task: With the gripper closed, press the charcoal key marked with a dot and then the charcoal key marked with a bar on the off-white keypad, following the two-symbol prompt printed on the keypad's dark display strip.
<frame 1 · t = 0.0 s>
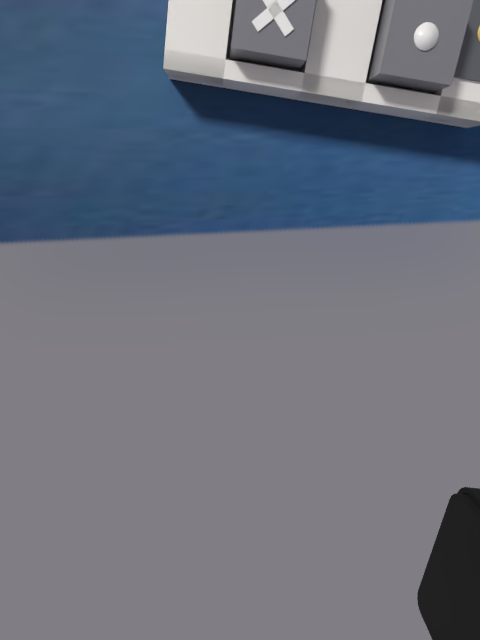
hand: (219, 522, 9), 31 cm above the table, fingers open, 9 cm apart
cross key: (272, 17, 30), point 4 cm above the table, slide at 0.0 cm
dot key: (416, 43, 31), point 4 cm above the table, slide at 0.0 cm
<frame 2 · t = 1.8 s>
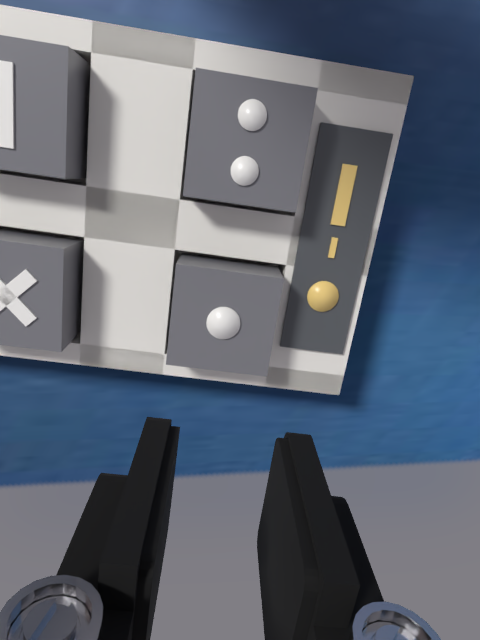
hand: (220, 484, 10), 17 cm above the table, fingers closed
pair key: (246, 145, 20), point 4 cm above the table, slide at 0.0 cm
cross key: (20, 287, 22), point 4 cm above the table, slide at 0.0 cm
bar key: (19, 110, 19), point 4 cm above the table, slide at 0.0 cm
keypad: (144, 212, 25), on the table
dot key: (223, 313, 23), point 4 cm above the table, slide at 0.0 cm
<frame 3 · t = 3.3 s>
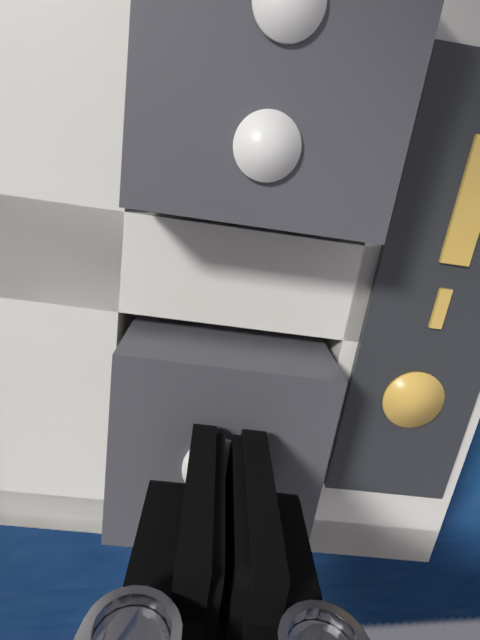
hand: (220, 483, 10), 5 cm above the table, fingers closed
pair key: (269, 91, 9), point 4 cm above the table, slide at 0.0 cm
keypad: (73, 231, 14), on the table
dot key: (218, 432, 12), point 4 cm above the table, slide at 0.2 cm, touching gripper
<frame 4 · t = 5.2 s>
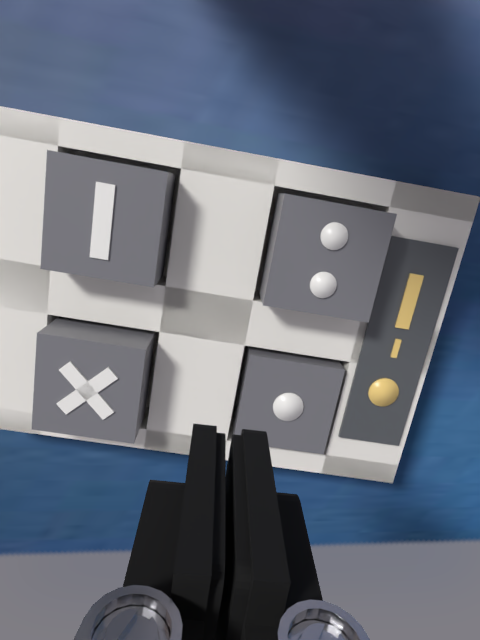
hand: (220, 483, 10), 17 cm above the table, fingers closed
pair key: (321, 256, 21), point 4 cm above the table, slide at 0.0 cm
cross key: (96, 378, 23), point 4 cm above the table, slide at 0.0 cm
bar key: (111, 219, 21), point 4 cm above the table, slide at 0.0 cm
keypad: (208, 300, 26), on the table
dot key: (284, 394, 25), point 3 cm above the table, slide at 1.5 cm, touching keypad
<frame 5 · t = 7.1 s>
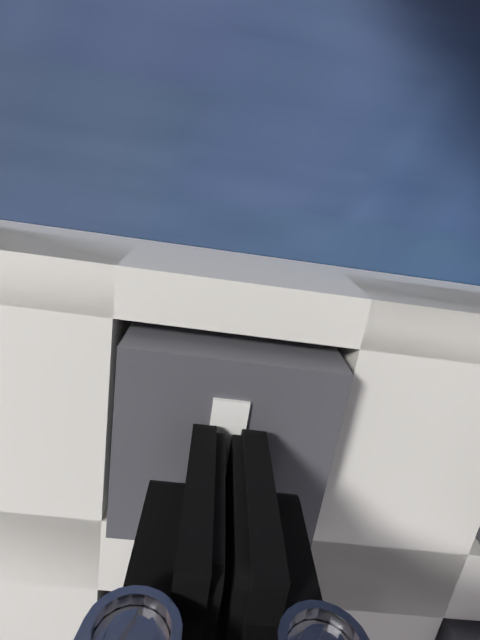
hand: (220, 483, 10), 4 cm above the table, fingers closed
bar key: (222, 426, 12), point 3 cm above the table, slide at 1.2 cm, touching gripper
keypad: (348, 494, 16), on the table
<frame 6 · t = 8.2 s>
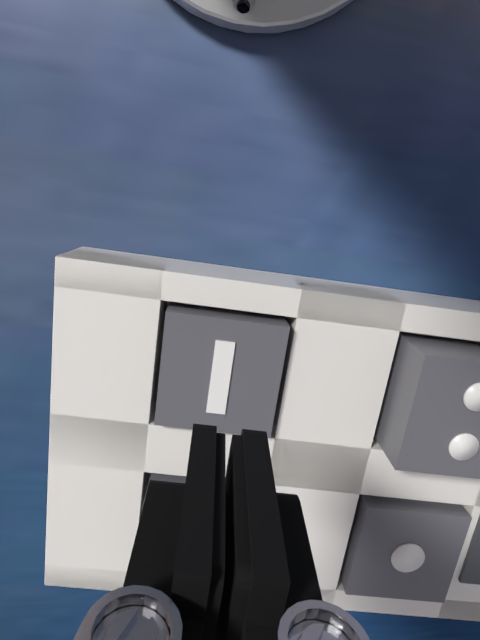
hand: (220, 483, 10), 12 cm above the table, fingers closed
pair key: (452, 405, 19), point 4 cm above the table, slide at 0.0 cm
cross key: (197, 538, 20), point 4 cm above the table, slide at 0.0 cm
bar key: (220, 364, 20), point 3 cm above the table, slide at 1.5 cm
keypad: (304, 428, 24), on the table
dot key: (396, 534, 23), point 3 cm above the table, slide at 1.5 cm, touching keypad
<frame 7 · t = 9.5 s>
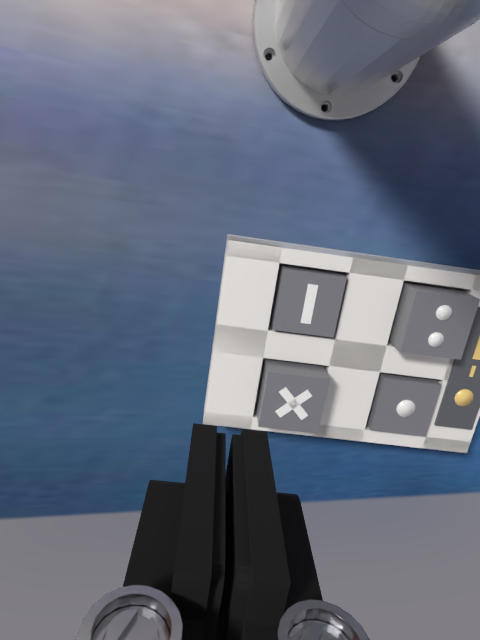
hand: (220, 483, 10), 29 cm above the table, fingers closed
pair key: (431, 320, 36), point 4 cm above the table, slide at 0.0 cm
cross key: (291, 395, 37), point 4 cm above the table, slide at 0.0 cm
bar key: (306, 299, 36), point 3 cm above the table, slide at 1.5 cm
keypad: (346, 341, 40), on the table
dot key: (399, 400, 40), point 3 cm above the table, slide at 1.5 cm, touching keypad
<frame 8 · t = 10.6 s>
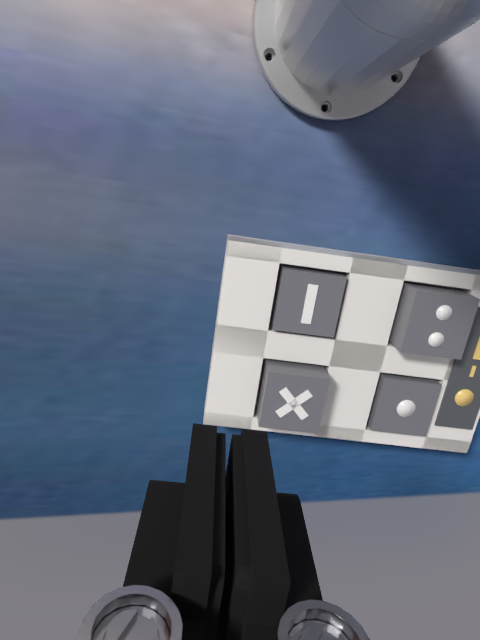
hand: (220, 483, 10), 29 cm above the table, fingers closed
pair key: (431, 320, 36), point 4 cm above the table, slide at 0.0 cm
cross key: (291, 395, 37), point 4 cm above the table, slide at 0.0 cm
bar key: (306, 299, 36), point 3 cm above the table, slide at 1.5 cm
keypad: (347, 341, 40), on the table
dot key: (399, 400, 40), point 3 cm above the table, slide at 1.5 cm, touching keypad
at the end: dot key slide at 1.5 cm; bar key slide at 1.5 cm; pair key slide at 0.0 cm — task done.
